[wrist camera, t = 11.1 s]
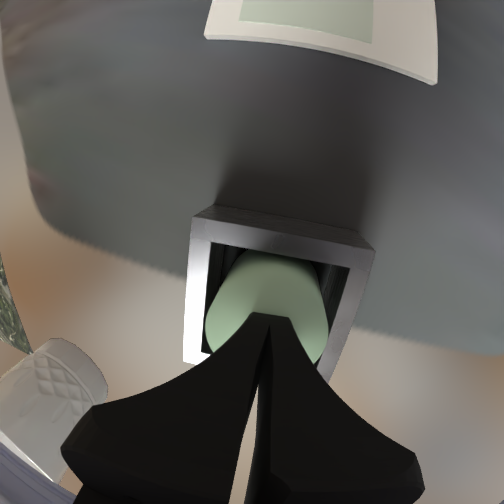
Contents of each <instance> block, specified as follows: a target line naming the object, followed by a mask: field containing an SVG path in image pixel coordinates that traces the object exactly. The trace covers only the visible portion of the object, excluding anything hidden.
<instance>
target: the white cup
mask: <svg viewBox="0 0 504 504" xmlns="http://www.w3.org/2000/svg"><path fill="white" fill-rule="evenodd" d="M107 393H108V385H107V383H106V381H105V379H104V376H103V374H102V372H101V371H100V370H99V368H98V367H97V366H96V365H95V363H94V362H93V361H92V359H91V358H90V357H89V356H88V355H87V354H85V353H84V352H83V351H82V350H81V349H79V348H78V347H77V346H76V345H74V344H73V343H70V342H68V341H66V340H64V339H62V338H52V339H49V340H48V341H47V342H46V343H44V344H43V345H42V346H41V347H39V348H38V349H37V350H36V351H35V352H34V353H33V354H31V355H29V356H27V357H25V358H24V359H22V360H21V361H20V362H19V363H18V364H17V365H15V366H14V367H12V368H11V369H10V370H8V371H7V372H6V373H5V374H4V375H2V376H1V377H0V442H1V443H3V444H4V445H5V446H6V447H7V448H8V449H10V450H11V451H12V452H13V453H14V454H16V455H17V456H18V457H19V458H21V459H22V460H23V461H25V462H26V463H27V464H29V465H30V466H31V467H33V468H34V469H35V470H37V471H38V472H40V473H41V474H43V475H44V476H46V477H47V478H48V479H50V480H52V481H53V482H55V483H56V484H58V485H59V483H60V482H61V480H62V478H63V476H64V474H65V472H66V470H67V468H68V467H69V466H68V465H67V464H66V462H65V460H64V459H63V457H62V455H61V450H60V447H61V445H62V444H63V442H64V441H65V440H66V438H67V437H68V435H69V434H70V432H71V431H72V430H73V428H74V427H75V425H76V424H77V423H78V421H79V420H80V419H81V417H82V416H83V415H84V414H85V413H86V412H87V411H88V410H89V409H90V408H91V407H92V406H93V405H98V404H103V403H104V402H105V400H106V398H107Z"/></svg>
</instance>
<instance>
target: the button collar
mask: <svg viewBox="0 0 504 504" xmlns="http://www.w3.org/2000/svg"><path fill="white" fill-rule="evenodd" d="M225 244H226V245H232V246H237V247H242V248H248V249H253V250H258V251H264V252H269V253H274V254H280V255H285V256H290V257H296V258H301V259H306V260H312V261H317V262H322V263H327V264H333V265H332V269H331V273H330V276H329V280H328V284H327V287H326V291H325V294H324V298H323V304H324V308H325V313H326V318H327V323H328V340H327V343H326V346H325V349H324V351H323V353H322V354H321V356H320V357H319V358H318V360H317V361H316V362H315V363H314V366H315V367H316V368H317V370H318V371H319V373H320V374H321V376H322V377H323V378H324V380H325V381H326V382H327V384H328V383H329V380H330V378H331V376H332V374H333V371H334V369H335V367H336V364H337V362H338V360H339V357H340V355H341V352H342V350H343V347H344V345H345V342H346V340H347V337H348V334H349V332H350V329H351V326H352V324H353V321H354V318H355V316H356V313H357V310H358V307H359V304H360V301H361V298H362V295H363V292H364V289H365V286H366V283H367V280H368V277H369V273H370V270H371V267H372V263H373V260H374V256H375V253H376V251H375V250H374V249H373V248H372V247H371V245H370V244H369V243H368V242H367V241H366V240H365V239H364V238H363V237H362V236H361V235H360V234H359V232H357V231H352V230H348V229H343V228H338V227H334V226H329V225H324V224H319V223H314V222H309V221H304V220H299V219H293V218H288V217H283V216H277V215H272V214H267V213H261V212H255V211H250V210H244V209H238V208H232V207H226V206H220V205H214V204H213V205H211V206H209V207H208V208H206V209H204V210H203V211H201V212H200V213H198V214H196V215H195V216H193V217H192V226H191V236H190V247H189V259H188V272H187V286H186V304H185V323H184V324H185V325H184V352H183V361H185V362H189V363H193V364H199V363H200V362H202V361H203V360H204V359H206V358H207V357H208V356H210V355H211V354H212V353H213V351H212V350H211V348H210V346H209V343H208V341H207V337H206V332H205V322H206V316H207V313H208V311H209V309H210V307H211V305H212V303H213V301H214V299H215V297H216V295H217V293H218V291H219V286H220V278H221V270H222V262H223V254H224V246H225Z"/></svg>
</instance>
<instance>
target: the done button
mask: <svg viewBox="0 0 504 504" xmlns="http://www.w3.org/2000/svg"><path fill="white" fill-rule="evenodd" d="M252 312H258V313H264V314H271V315H277V316H284V317H289V318H290V320H291V322H292V324H293V327H294V329H295V331H296V334H297V336H298V338H299V340H300V342H301V344H302V346H303V347H304V349H305V351H306V353H307V354H308V356H309V358H310V359H311V361H312V363H313V364H314V363H315V362H316V361H317V360H318V358H319V357H320V356H321V354H322V353H323V351H324V349H325V346H326V343H327V340H328V323H327V318H326V313H325V308H324V304H323V299H322V295H321V290H320V286H319V281H318V277H317V273H316V271H315V269H314V267H313V265H312V264H311V262H310V261H309V260H306V259H301V258H296V257H290V256H285V255H280V254H274V253H269V252H264V251H258V250H253V249H249V250H247V251H245V252H244V253H243V254H241V255H240V256H239V257H238V258H237V259H236V261H235V262H234V263H233V265H232V267H231V269H230V270H229V272H228V274H227V276H226V278H225V280H224V282H223V284H222V286H221V288H220V289H219V291H218V293H217V295H216V297H215V299H214V301H213V303H212V305H211V307H210V309H209V311H208V313H207V316H206V322H205V332H206V337H207V341H208V343H209V346H210V348H211V350H212V351H213V352H215V351H216V350H217V349H218V348H219V347H220V346H221V345H223V344H224V343H225V342H226V341H227V340H228V339H229V338H230V337H231V336H232V335H233V334H234V333H235V332H236V331H237V330H238V329H239V327H240V326H241V325H242V324H243V323H244V321H245V320H246V319H247V317H248V316H249V314H250V313H252Z"/></svg>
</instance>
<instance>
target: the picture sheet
mask: <svg viewBox="0 0 504 504" xmlns="http://www.w3.org/2000/svg"><path fill="white" fill-rule="evenodd" d="M204 36H205V37H206V38H207V39H221V40H243V41H256V42H267V43H276V44H283V45H291V46H297V47H303V48H309V49H314V50H319V51H324V52H329V53H333V54H338V55H342V56H346V57H350V58H354V59H358V60H361V61H365V62H368V63H372V64H375V65H378V66H381V67H384V68H387V69H390V70H393V71H396V72H399V73H402V74H404V75H407V76H410V77H412V78H415V79H417V80H420V81H422V82H425V83H427V84H429V85H434V84H436V83H437V75H438V45H437V24H436V12H435V2H434V0H213V1H212V5H211V8H210V12H209V16H208V20H207V24H206V28H205V32H204Z"/></svg>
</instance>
